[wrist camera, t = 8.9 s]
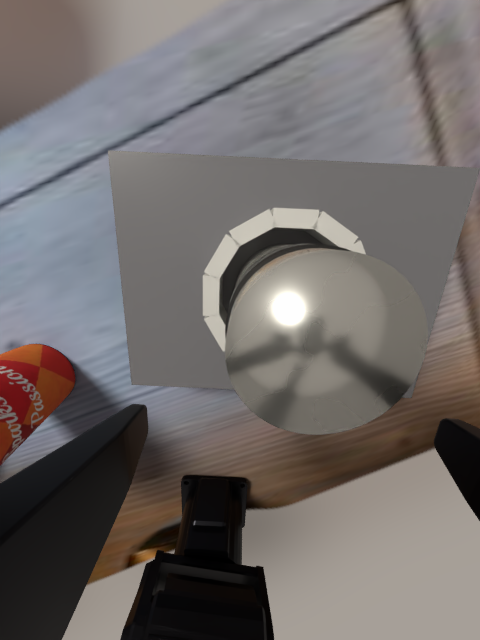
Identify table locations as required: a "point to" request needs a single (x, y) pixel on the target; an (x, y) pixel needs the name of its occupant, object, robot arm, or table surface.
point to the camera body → (261, 240)
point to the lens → (322, 337)
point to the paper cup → (30, 391)
